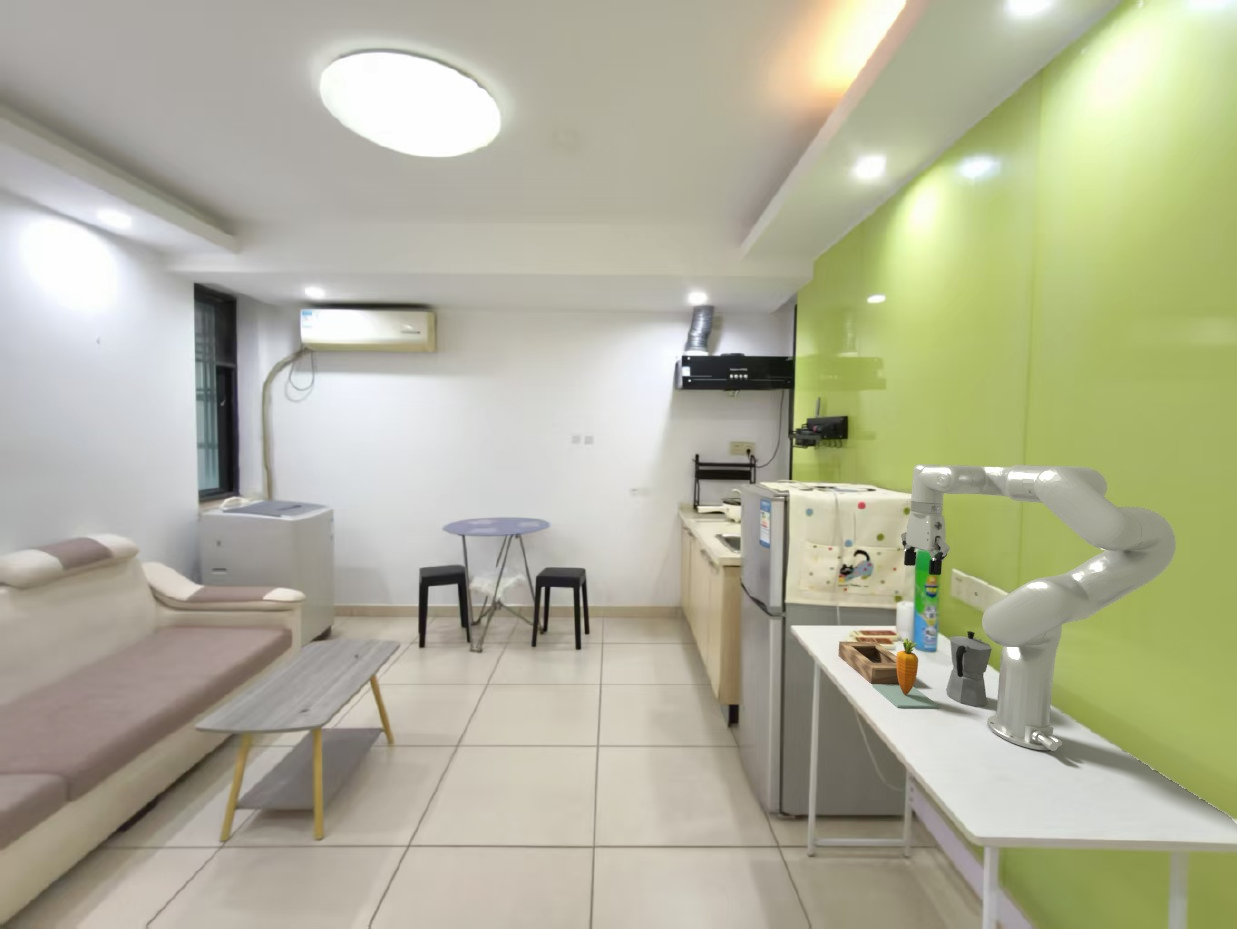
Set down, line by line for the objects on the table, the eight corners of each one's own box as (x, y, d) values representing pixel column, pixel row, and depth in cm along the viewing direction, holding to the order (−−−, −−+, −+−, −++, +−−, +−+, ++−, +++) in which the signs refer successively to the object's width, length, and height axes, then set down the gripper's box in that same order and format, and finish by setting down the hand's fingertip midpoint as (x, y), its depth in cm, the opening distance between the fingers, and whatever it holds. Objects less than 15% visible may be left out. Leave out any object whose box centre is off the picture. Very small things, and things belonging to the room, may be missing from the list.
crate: (912, 684, 140) (913, 668, 140) (871, 683, 139) (872, 667, 139) (875, 656, 158) (876, 642, 157) (838, 655, 157) (839, 641, 157)
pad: (938, 708, 127) (938, 705, 127) (897, 707, 126) (897, 705, 126) (910, 686, 138) (910, 684, 138) (872, 686, 137) (872, 684, 137)
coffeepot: (954, 684, 141) (958, 621, 140) (994, 698, 134) (1000, 632, 133) (933, 700, 131) (938, 632, 130) (976, 716, 124) (981, 645, 123)
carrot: (896, 688, 136) (899, 633, 135) (917, 694, 132) (921, 639, 132) (892, 695, 132) (896, 639, 131) (914, 701, 129) (917, 644, 128)
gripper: (963, 513, 130) (958, 578, 131) (916, 505, 147) (912, 562, 148) (937, 513, 129) (932, 578, 130) (893, 504, 147) (889, 562, 147)
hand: (921, 569), depth 139 cm, fingers open, 9 cm apart
